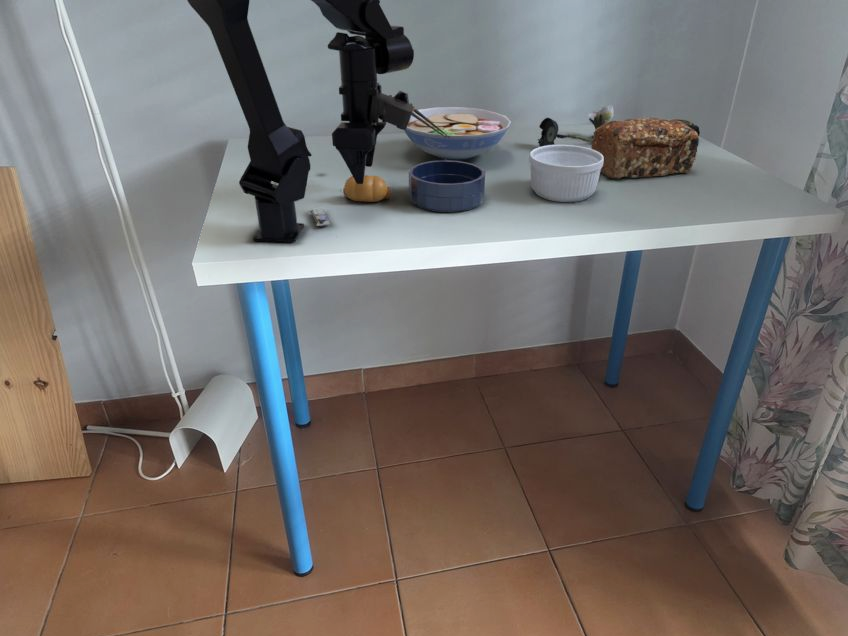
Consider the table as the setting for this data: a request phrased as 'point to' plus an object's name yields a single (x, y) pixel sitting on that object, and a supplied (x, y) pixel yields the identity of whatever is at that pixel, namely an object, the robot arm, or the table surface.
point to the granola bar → (320, 217)
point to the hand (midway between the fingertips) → (364, 174)
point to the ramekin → (565, 172)
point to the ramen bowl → (456, 131)
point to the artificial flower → (551, 131)
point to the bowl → (446, 185)
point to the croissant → (367, 189)
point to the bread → (645, 147)
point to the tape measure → (690, 125)
